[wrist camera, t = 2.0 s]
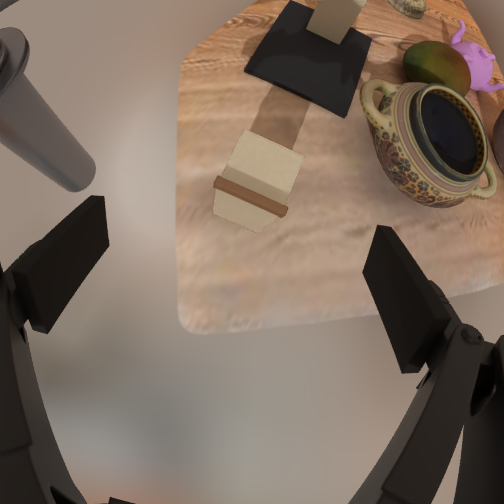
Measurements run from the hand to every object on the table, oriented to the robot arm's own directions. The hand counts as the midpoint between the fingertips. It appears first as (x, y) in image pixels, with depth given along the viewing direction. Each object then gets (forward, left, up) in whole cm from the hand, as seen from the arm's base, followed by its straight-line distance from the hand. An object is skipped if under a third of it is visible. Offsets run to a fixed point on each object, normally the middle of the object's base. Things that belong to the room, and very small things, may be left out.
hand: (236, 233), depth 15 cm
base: (0, +36, -24) cm, 43 cm away
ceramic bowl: (+19, +25, -24) cm, 40 cm away
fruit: (+20, +44, -24) cm, 54 cm away
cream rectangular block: (0, +8, -24) cm, 25 cm away
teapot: (+30, +57, -24) cm, 69 cm away
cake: (+13, +68, -24) cm, 73 cm away
